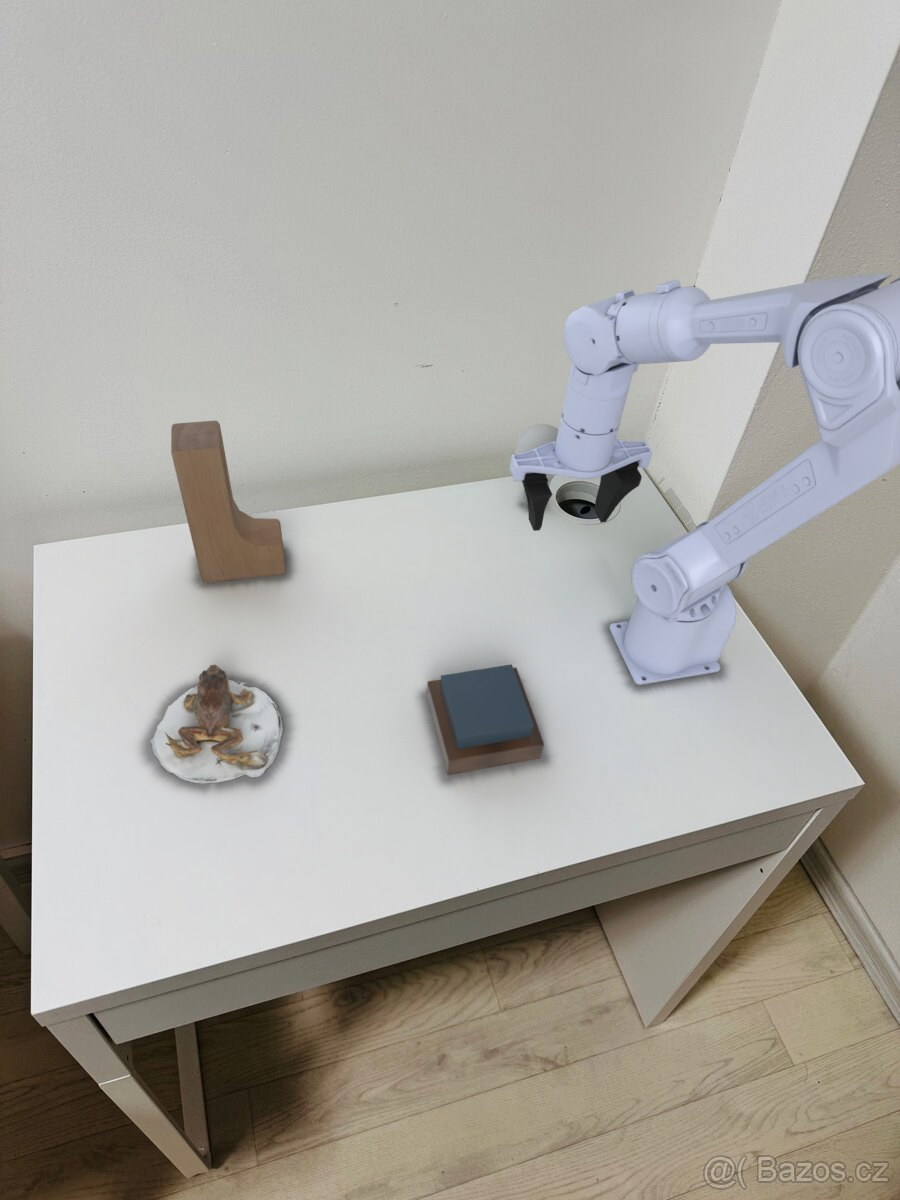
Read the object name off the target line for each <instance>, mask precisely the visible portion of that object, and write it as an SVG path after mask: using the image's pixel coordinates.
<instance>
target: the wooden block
mask: <svg viewBox="0 0 900 1200" xmlns="http://www.w3.org/2000/svg"><path fill="white" fill-rule="evenodd" d="M170 432H171V435H170V438H171V439H170V440H171V441H170V453H171V454H170V455H171V456H172V457H171V458H172V462H173V466H174V470H175V471H174V472H175V474H176V478H177V482H178V487H179V492H180V496H181V499H182V504H183V508H184V512H185V516H186V520H187V521H186V522H187V524H188V529H189V533H190V537H191V542H192V546H193V549H194V554H195V558H196V562H197V566H198V567H197V568H198V570H199V575H200V579H201V581H202V583H205V584H207V583H216V582H225V581H233V580H243V579H251V578H252V579H253V578H262V577H271V576H280V575H285V574H286V571H287V566H286V557H285V550H284V541H283V534H282V524H281V521H280V520H279V519H278V518H262V517H261V518H260V517H253V516H250V515H249V514H247V513H245V512H243V511H242V510H240V508H239V506H238V505H237V503H236V501H235V499H234V495H233V490H232V484H231V479H230V473H229V468H228V462H227V456H226V451H225V444H224V440H223V434H222V429H221V424H220V423H219V421H218V420H205V421H191V422H190V421H189V422H179V423H178V422H176V423H172V425H171V431H170Z"/></svg>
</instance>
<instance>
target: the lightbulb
mask: <svg viewBox="0 0 900 1200" xmlns="http://www.w3.org/2000/svg"><path fill="white" fill-rule="evenodd" d="M558 430H559V427H556V426H554V425H551V424H547V423H538V424H537V423H536V424H534V425H532V426H529V427H528V428H527V429H525V430H524V431H522V433H521V434H520V436H519V437H518V439H517V442H516V444H515V450H514V451H515V454H520V453H524V452H527V451H530V450H532V449H535V448H538V447H540V446H543V445H545V444H548V443H551V442H553V441H556V440H557V435H558ZM555 476H556V475H550V474H546V477H547V479H548V486H549V487H550V485H551V482H552V480H553V478H554V477H555ZM523 500H524V501H525V503H527V497H526V493H525V489H523Z"/></svg>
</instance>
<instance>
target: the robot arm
mask: <svg viewBox="0 0 900 1200" xmlns="http://www.w3.org/2000/svg"><path fill="white" fill-rule="evenodd" d="M892 274H893V273H878V272H875V273H865V274H857V275H850V276H841V277H834V278H824V279H818V280H812V281H807V282H801V283H796V284H790V285H785V286H779V287H774V288H769V289H763V290H758V291H753V292H748V293H747V292H746V293H741V294H738V295H737V294H736V295H731V296H726V297H720V298H714V299H711V298H710V297H709V295H708V294H707V293H706V292H705V291H704V290H702V289H701V288H699V287H697V286H693V285H688V286H687V285H686V286H681V281H680V279H673V280H668V281H666V282H663V283H659V284H657V285H656V286H655V291H650V292H643V293H637V294H635V290H634V289H626V290H622V291H619V292H617V293H616V294H615V295H613V296H611V297H607V298H605V299H602V300H599V301H595V302H593V303H589V304H587V305H583V306H581V307H580V308H578V309H576V310H574V311H573V312H571V313H570V314H569V315H568V317H567V318H566V320H565V323H564V328H563V343H564V348H565V351H566V354H567V356H568V358H569V360H570V361H571V363H570V369H569V373H568V379H567V384H566V389H565V394H564V399H563V406H562V409H561V416H560V421H559V426H558V429H559V430H558V435H557V440H556V441H553V442H551V443H548V444H545V445H543V446H540V447H538V448H535V449H532V450H530V451H527V452H524V453H520V454H516V453H515V454H514V453H513V454H511V457H510V463H509V472H510V474H511V476H512V478H513V481H514V482H521V483H522V485H523V488H524V489H525V493H526V497H527V502H526V504H527V510H528V511H527V512H528V521H529V524H530V526H531V528H532V530H533V531H534V532H536V531H538V532H539V531H541V529H542V526H543V522H544V516H545V511H546V509H547V505H548V503H549V501H550V499H551V498H552V496H553V494H554V493H553V492H552V490H551V489H550V485H549V486H548V479H547V477H546V474H550V475H555V476H561V477H567V478H575V479H576V478H577V479H583V480H584V479H585V480H586V479H588V480H589V479H596V478H599V477H600V479H599V480H600V481H599V487H598V490H597V494H596V497H595V500H594V501H595V502H594V513H595V514H596V516H597V518H598V521H599V522H600V523H607V521H608V519H609V518H610V517H611V515H612V513H613V512H614V510H615V509H616V508H617V506H618V505H619V504H620V503H621V502H622V500H623V499H624V498H625V497H626V496H628V494H630V493H631V492H633V490H635V489H637V488H638V487H639V486H640V485H641V482H642V478H643V477H642V474H641V472H640V470H639V468H648V467H649V465H650V461H651V460H652V459H651V458H652V455H653V451H652V449H651V447H650V445H649V443H648V442H647V441H646V440H626V439H617V438H618V433H619V430H620V425H621V421H622V417H623V413H624V408H625V406H626V402H627V398H628V394H629V390H630V386H631V383H632V379H633V375H634V374H635V373H636V372H638V370H639V366H640V365H648V364H649V365H650V364H664V363H679V362H693V361H695V360H697V359H699V358H700V357H702V356H703V355H704V354H705V353H706V352H707V351H708V350H709V348H710V347H711V345H716V344H717V345H721V344H722V345H723V344H761V343H764V344H765V343H766V344H767V343H769V344H770V343H779V344H780V346H781V351H782V354H783V358H784V362H785V365H786V366H787V368H789V369H790V370H791V369H794V368H797V367H798V366H799V370H800V374H801V379H802V382H803V384H804V388H805V391H806V394H807V396H808V400H809V404H810V408H811V410H812V413H813V416H814V420H815V423H816V426H817V429H818V432H819V436H820V439H819V440H818V441H817V442H815V443H814V444H812V445H811V446H810V447H808V448H807V449H806V450H804V451H803V452H801V453H800V454H798V456H796V457H795V458H794V459H792V460H791V461H789V462H788V463H787V464H785V465H784V466H783V467H781V468H780V469H778V470H777V471H776V472H775V473H773V474H772V475H770V476H769V477H768V478H766V479H765V480H764V481H762V482H761V483H759V484H758V485H757V486H756V487H754V488H753V489H751V490H750V491H748V492H747V493H746V494H745V495H743V496H742V497H740V498H739V499H738V500H736V501H735V502H733V503H732V504H731V505H730V506H728V507H727V508H726V509H725V510H723V511H722V512H720V513H718V515H716V516H715V517H714V518H712V519H709V520H705V521H703V522H701V523H700V524H698V525H697V526H696V527H695V528H693V529H692V530H690V531H688V532H686V533H684V534H682V535H681V536H678V537H677V538H675V539H673V540H672V541H670V542H667V543H665V544H664V545H661V546H660V547H658V548H657V549H655V550H652V551H651V552H647V553H643V554H642V555H640V556H639V557H637V558H636V559H635V561H634V562H633V564H632V567H631V575H630V576H631V582H632V586H633V591H634V592H635V595H636V597H637V598H636V600H635V604H634V607H633V610H632V613H631V616H630V619H629V620H625V621H619V622H618V621H617V622H612V623H610V624H609V627H608V629H609V631H610V633H611V635H612V639H613V640H614V642H615V644H616V646H617V648H618V651H619V652H620V655H621V657H622V660H623V661H624V663H625V666H626V667H627V670H628V672H629V674H630V676H631V678H632V680H633V682H634V684H636V685H638V686H643V685H648V684H654V683H655V684H656V683H660V682H665V681H673V680H678V679H684V678H689V677H695V676H702V675H707V674H713V673H718V672H720V670H721V665H720V663H719V660H720V657H721V656H722V653H723V651H724V648H725V647H726V644H727V643H728V641H729V638H730V636H731V634H732V633H733V630H734V628H735V626H736V622H737V621H736V620H737V605H736V600H735V597H734V595H733V592H732V590H731V588H730V587H729V585H728V583H730V582H734V581H736V580H738V579H739V578H740V577H741V576H742V575H743V574H744V573H745V571H746V568H747V565H748V563H749V562H750V561H751V559H753V558H754V557H755V556H757V555H759V554H760V553H761V552H762V551H764V550H766V549H767V548H769V547H770V546H772V545H773V544H775V543H776V542H778V541H780V540H781V539H783V538H784V537H786V536H788V535H789V534H791V533H792V532H794V531H796V530H797V529H799V528H801V527H802V526H804V525H805V524H807V523H809V522H811V521H812V520H813V519H815V518H816V517H818V516H820V515H821V514H823V513H825V512H827V511H828V510H829V509H831V508H833V507H834V506H836V505H837V504H839V503H840V502H842V501H844V500H845V499H847V498H849V497H850V496H852V495H853V494H855V493H856V492H858V491H860V490H861V489H863V488H865V487H866V486H868V485H869V484H871V483H872V482H874V481H876V480H877V479H879V478H880V477H882V476H884V475H886V474H887V473H889V472H890V471H892V470H893V469H896V468H897V467H898V466H900V277H898V278H896V279H894V280H892V281H890V283H888V284H886V285H884V286H882V287H880V286H881V285H882V284H883V283H884V282H885V281H886V280H887V279H888V278H890V277H892ZM524 489H523V490H524Z"/></svg>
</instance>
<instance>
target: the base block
mask: <svg viewBox="0 0 900 1200" xmlns="http://www.w3.org/2000/svg"><path fill="white" fill-rule="evenodd" d="M513 669H514V672H515V674H516V677H517V680H518V683H519V686H520V688H521V691H522V694H523V697H524V699H525V702H526V705H527V708H528V711H529V713H530V716H531V719H532V722H533V729H532V733H531V737H526V738H520V739H515V740H509V741H503V742H498V743H492V744H487V745H481V746H475V747H470V748H464V749H458V750H457V747H456V744H455V740H454V736H453V733H452V729H451V726H450V722H449V719H448V715H447V712H446V708H445V705H444V701H443V697H442V694H441V690H440V680H441V678H439V679H433V680H428V681H427V682H426V695H425V697H426V700H427V704H428V708H429V712H430V715H431V719H432V723H433V726H434V731H435V734H436V738H437V741H438V746H439V749H440V753H441V757H442V761H443V764H444V768H445V771H446V775H447V776H451V775H456V774H457V775H458V774H463V773H466V772H467V773H468V772H472V771H473V772H474V771H479V770H484V769H490V768H495V767H500V766H506V765H511V764H516V763H522V762H527V761H533V760H539V759H541V757H542V753H543V750H544V747H545V742H544V740H543V736H542V733H541V732H540V731H541V730H540V728H539V725H538V723H537V720H536V717H535V715H534V713H533V709H532V705H531V704H530V700H529V698H528V695H527V692H526V690H525V686H524V685H523V682H522V678H521V676H520V673H519V671H518V668H517V667H513Z"/></svg>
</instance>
